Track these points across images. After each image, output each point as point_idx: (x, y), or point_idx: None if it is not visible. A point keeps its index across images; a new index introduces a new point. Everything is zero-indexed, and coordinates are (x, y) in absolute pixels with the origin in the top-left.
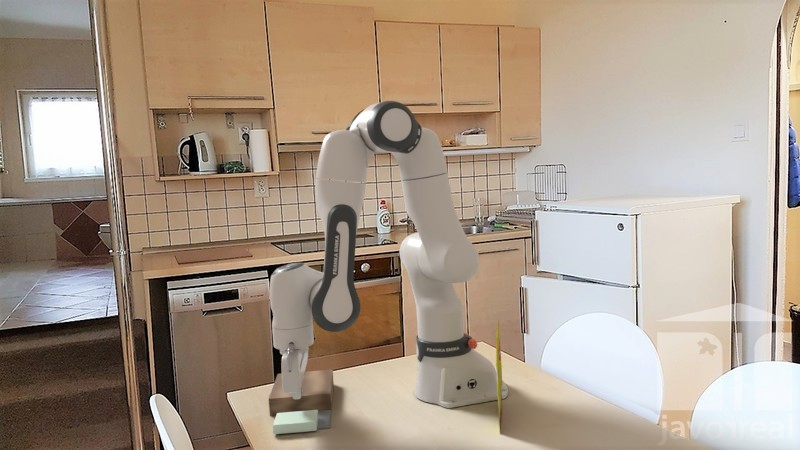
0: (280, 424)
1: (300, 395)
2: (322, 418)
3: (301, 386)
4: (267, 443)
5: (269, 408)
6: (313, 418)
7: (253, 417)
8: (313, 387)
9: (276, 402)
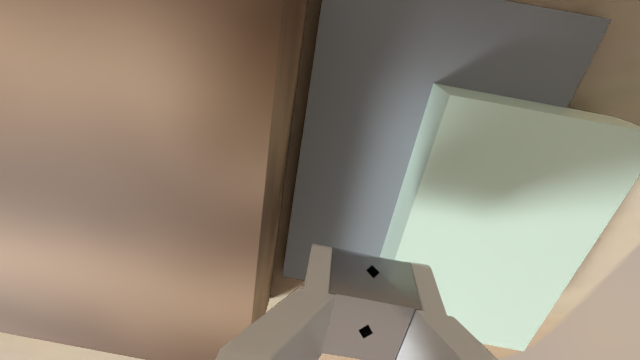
0: (539, 323)
1: (434, 283)
2: (451, 55)
3: (330, 300)
4: (553, 328)
5: None
6: (596, 146)
7: None
8: (87, 100)
9: None
